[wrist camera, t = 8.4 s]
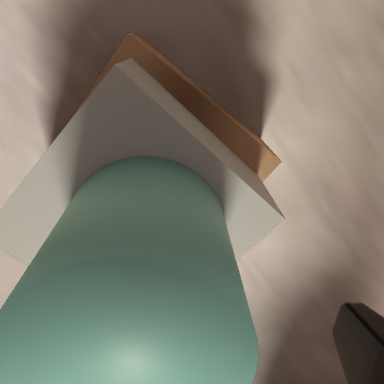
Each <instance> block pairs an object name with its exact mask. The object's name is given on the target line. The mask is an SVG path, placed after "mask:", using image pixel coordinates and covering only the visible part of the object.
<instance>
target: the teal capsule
mask: <svg viewBox="0 0 384 384" xmlns="http://www.w3.org/2000/svg"><path fill="white" fill-rule="evenodd" d="M258 359H259V348H258V340H257V336H256V333H255V329H254V325H253V321H252V318H251V314H250V310H249V307H248V303H247V299H246V296H245V292H244V288H243V284H242V281H241V277H240V273H239V270H238V266H237V262H236V258H235V255H234V251H233V247H232V244H231V240H230V236H229V232H228V229H227V225H226V221H225V218H224V214H223V210H222V207H221V204H220V202H219V199H218V197H217V195H216V194H215V192H214V191H213V189H212V188H211V186H210V185H209V184H208V183H207V182H206V181H205V180H204V179H203V178H202V177H201V176H200V175H199V174H197V173H196V172H194V171H193V170H191V169H190V168H188V167H186V166H184V165H182V164H180V163H178V162H175V161H172V160H169V159H165V158H160V157H152V156H135V157H129V158H124V159H120V160H117V161H114V162H112V163H109V164H107V165H105V166H103V167H102V168H100V169H98V170H97V171H95V172H94V173H93V174H92V175H91V176H89V177H88V178H87V179H86V180H85V182H84V183H83V184H82V185H81V186H80V188H79V190H78V191H77V193H76V194H75V196H74V197H73V199H72V200H71V202H70V203H69V205H68V206H67V208H66V210H65V211H64V213H63V214H62V216H61V217H60V219H59V220H58V222H57V223H56V225H55V226H54V228H53V230H52V231H51V233H50V234H49V236H48V237H47V239H46V240H45V242H44V243H43V245H42V246H41V248H40V249H39V251H38V253H37V254H36V256H35V257H34V259H33V260H32V262H31V263H30V265H29V266H28V268H27V269H26V271H25V273H24V274H23V276H22V277H21V279H20V280H19V282H18V283H17V285H16V286H15V288H14V289H13V291H12V292H11V294H10V296H9V297H8V299H7V300H6V302H5V303H4V305H3V306H2V308H1V309H0V384H252V382H253V380H254V377H255V374H256V371H257V367H258Z"/></svg>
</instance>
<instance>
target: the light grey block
mask: <svg viewBox="0 0 384 384" xmlns="http://www.w3.org/2000/svg"><path fill="white" fill-rule="evenodd" d="M135 156H152V157H160V158H165V159H169V160H172V161H175V162H178V163H180V164H182V165H184V166H186V167H188V168H190V169H191V170H193V171H194V172H196V173H197V174H199V175H200V176H201V177H202V178H203V179H204V180H205V181H206V182H207V183H208V184H209V185H210V186H211V188H212V189H213V191H214V192H215V194H216V195H217V197H218V199H219V202H220V204H221V207H222V210H223V214H224V218H225V221H226V225H227V229H228V232H229V236H230V240H231V244H232V247H233V251H234V255H235V258H236V262H237V261H238V260H239V259H240V258H241V257H242V256H244V255H245V254H246V253H247V252H248V251H249V250H251V249H252V248H253V247H254V246H255V245H256V244H257V243H259V242H260V241H261V240H262V239H263V238H264V237H265V236H267V235H268V234H269V233H270V232H271V231H272V230H273V229H275V228H276V227H277V226H278V225H279V224H280V223H282V222H283V221H284V220H285V217H284V216H283V214H282V213H281V211H280V209H279V208H278V206H277V205H276V203H275V202H274V200H273V198H272V197H271V195H270V194H269V192H268V190H267V189H266V187H265V186H264V184H263V183H262V181H261V179H260V178H259V176H258V175H257V174H256V173H255V172H254V171H253V170H252V169H251V168H250V167H249V166H248V165H247V164H245V163H244V162H243V161H242V160H241V159H240V158H239V157H238V156H237V155H236V154H235V153H234V152H233V151H232V150H230V149H229V148H228V147H227V146H226V145H225V144H224V143H223V142H222V141H221V140H220V139H219V138H218V137H216V136H215V135H214V134H213V133H212V132H211V131H210V130H209V129H208V128H207V127H206V126H205V125H204V124H203V123H201V122H200V121H199V120H198V119H197V118H196V117H195V116H194V115H193V114H192V113H191V112H190V111H189V110H187V109H186V108H185V107H184V106H183V105H182V104H181V103H180V102H179V101H178V100H177V99H176V98H175V97H174V96H172V95H171V94H170V93H169V92H168V91H167V90H166V89H165V88H164V87H163V86H162V85H161V84H160V83H158V82H157V81H156V80H155V79H154V78H153V77H152V76H151V75H150V74H149V73H148V72H147V71H146V70H145V69H143V68H142V67H141V66H140V65H139V64H138V63H137V62H136V61H135V60H134V59H133V58H130V59H127V60H124V61H122V62H119V63H117V64H114V66H113V67H112V68H111V69H110V71H109V72H108V73H107V74H106V76H105V77H104V78H103V79H102V81H101V82H100V83H99V85H98V86H97V87H96V88H95V90H94V91H93V92H92V93H91V95H90V96H89V97H88V99H87V100H86V101H85V102H84V104H83V105H82V106H81V107H80V109H79V110H78V111H77V112H76V114H75V115H74V116H73V118H72V119H71V120H70V121H69V123H68V124H67V125H66V126H65V128H64V129H63V130H62V131H61V133H60V134H59V135H58V137H57V138H56V139H55V140H54V142H53V143H52V144H51V145H50V147H49V148H48V149H47V151H46V152H45V153H44V154H43V156H42V157H41V158H40V159H39V161H38V162H37V163H36V164H35V166H34V167H33V168H32V170H31V171H30V172H29V173H28V175H27V176H26V177H25V178H24V180H23V181H22V182H21V184H20V185H19V186H18V187H17V189H16V190H15V191H14V192H13V194H12V195H11V196H10V197H9V199H8V200H7V201H6V203H5V204H4V205H3V206H2V208H1V209H0V249H1V250H3V251H4V252H6V253H8V254H9V255H11V256H13V257H14V258H16V259H18V260H19V261H21V262H23V263H24V264H26V265H27V266H29V265H30V263H31V262H32V260H33V259H34V257H35V256H36V254H37V253H38V251H39V249H40V248H41V246H42V245H43V243H44V242H45V240H46V239H47V237H48V236H49V234H50V233H51V231H52V230H53V228H54V226H55V225H56V223H57V222H58V220H59V219H60V217H61V216H62V214H63V213H64V211H65V210H66V208H67V206H68V205H69V203H70V202H71V200H72V199H73V197H74V196H75V194H76V193H77V191H78V190H79V188H80V186H81V185H82V184H83V183H84V182H85V180H86V179H87V178H88V177H89V176H91V175H92V174H93V173H94V172H95V171H97V170H98V169H100V168H102V167H103V166H105V165H107V164H109V163H112V162H114V161H117V160H120V159H124V158H129V157H135Z"/></svg>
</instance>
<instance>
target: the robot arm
mask: <svg viewBox="0 0 384 384" xmlns="http://www.w3.org/2000/svg"><path fill="white" fill-rule="evenodd" d="M332 332H333V339H334V343H335V346H336V349H337V352H338V355H339V358H340V361H341V364H342V368H343V371H344V374H345V377H346V380H347V383H348V384H384V318H383V317H382V316H380V315H379V314H378V313H376V312H375V311H373V310H372V309H370V308H369V307H367V306H366V305H364V304H363V303H359V302H344V303H342V305H341V306H340V309H339V311H338V314H337V317H336V320H335V323H334V326H333V331H332Z"/></svg>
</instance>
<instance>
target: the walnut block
mask: <svg viewBox="0 0 384 384" xmlns="http://www.w3.org/2000/svg"><path fill="white" fill-rule="evenodd" d="M130 58H133V59H134V60H135V61H136V62H137V63H138V64H139V65H140V66H141V67H142V68H143V69H145V70H146V71H147V72H148V73H149V74H150V75H151V76H152V77H153V78H154V79H155V80H156V81H157V82H158V83H160V84H161V85H162V86H163V87H164V88H165V89H166V90H167V91H168V92H169V93H170V94H171V95H172V96H174V97H175V98H176V99H177V100H178V101H179V102H180V103H181V104H182V105H183V106H184V107H185V108H186V109H187V110H189V111H190V112H191V113H192V114H193V115H194V116H195V117H196V118H197V119H198V120H199V121H200V122H201V123H203V124H204V125H205V126H206V127H207V128H208V129H209V130H210V131H211V132H212V133H213V134H214V135H215V136H216V137H218V138H219V139H220V140H221V141H222V142H223V143H224V144H225V145H226V146H227V147H228V148H229V149H230V150H232V151H233V152H234V153H235V154H236V155H237V156H238V157H239V158H240V159H241V160H242V161H243V162H244V163H245V164H247V165H248V166H249V167H250V168H251V169H252V170H253V171H254V172H255V173H256V174H257V175H258V176H259V178H260V179H261V181H262V182H263V181H264V180H265V179H266V178H267V177H268V176H269V175H270V173H271V172H272V171H273V170H274V169H275V168H276V167H277V166H278V165H279V164H280V163H281V162H282V161H281V160H280V159H279V158H278V157H277V156H276V155H275V154H274V153H273V152H272V150H271V149H270V148H269V147H268V146H267V145H266V144H265V143H264V142H263V140H262V139H261V138H260V137H258V136H257V135H256V134H255V133H254V132H252V131H251V130H250V129H249V128H248V127H247V126H245V125H244V124H243V123H242V122H241V121H239V120H238V119H237V118H236V117H235V116H234V115H232V114H231V113H230V112H229V111H228V110H226V109H225V108H224V107H223V106H222V105H221V104H219V103H218V102H217V101H216V100H215V99H213V98H212V97H211V96H210V95H209V94H208V93H206V92H205V91H204V90H203V89H202V88H201V87H199V86H198V85H197V84H196V83H195V82H193V81H192V80H191V79H190V78H189V77H188V76H186V75H185V74H184V73H183V72H182V71H180V70H179V69H178V68H177V67H176V66H175V65H173V64H172V63H171V62H170V61H169V60H167V59H166V58H165V57H164V56H163V55H162V54H160V53H159V52H158V51H157V50H156V49H154V48H153V47H152V46H151V45H150V44H149V43H147V42H146V41H145V40H144V39H143V38H142V37H140V36H139V35H138V34H134V33H129V32H128V33H127V34H126V36H125V37H124V39H123V40H122V42H121V43H120V45H119V46H118V48H117V49H116V51H115V52H114V54H113V55H112V57H111V58H110V60H109V61H108V63H107V64H106V66H105V67H104V69H103V70H102V72H101V73H100V75H99V76H98V78H97V79H96V81H95V82H94V84H93V85H92V87H91V88H90V90H89V91H88V93H87V94H86V96H85V97H84V99H83V100H82V102H81V103H80V105H79V106H78V108H77V109H76V111H75V112H74V114H73V115H72V117H71V118H70V120H71V119H72V118H73V116H74V115H75V114H76V112H77V111H78V110H79V109H80V107H81V106H82V105H83V104H84V102H85V101H86V100H87V99H88V97H89V96H90V95H91V93H92V92H93V91H94V90H95V88H96V87H97V86H98V85H99V83H100V82H101V81H102V79H103V78H104V77H105V76H106V74H107V73H108V72H109V71H110V69H111V68H112V67H113V66H114V64H117V63H119V62H122V61H124V60H127V59H130ZM70 120H69V121H70ZM69 121H68V123H69ZM68 123H67V124H68ZM67 124H66V125H67ZM64 128H65V127H64Z"/></svg>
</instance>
